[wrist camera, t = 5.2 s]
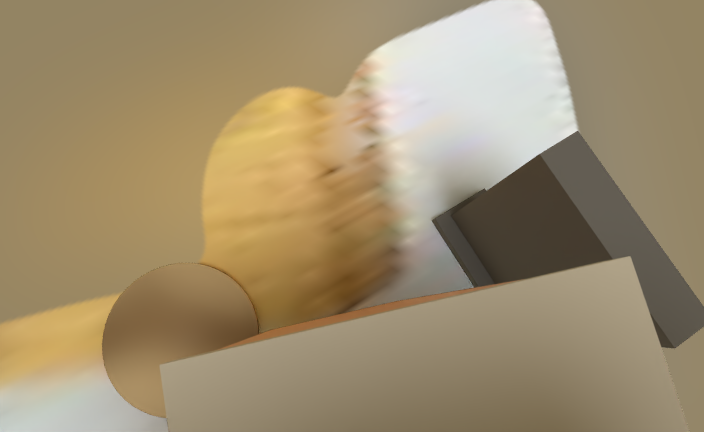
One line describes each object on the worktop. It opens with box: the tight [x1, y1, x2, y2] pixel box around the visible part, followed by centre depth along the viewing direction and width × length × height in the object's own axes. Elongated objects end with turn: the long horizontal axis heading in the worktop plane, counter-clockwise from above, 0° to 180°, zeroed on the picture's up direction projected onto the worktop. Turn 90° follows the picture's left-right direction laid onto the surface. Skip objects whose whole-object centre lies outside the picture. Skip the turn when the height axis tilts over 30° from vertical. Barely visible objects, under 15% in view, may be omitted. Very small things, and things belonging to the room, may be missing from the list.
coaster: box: [102, 263, 259, 418], centre depth 22 cm, size 7×7×1 cm
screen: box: [432, 131, 704, 348], centre depth 19 cm, size 8×3×10 cm, turn 31°
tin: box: [160, 256, 690, 432], centre depth 11 cm, size 5×5×13 cm
